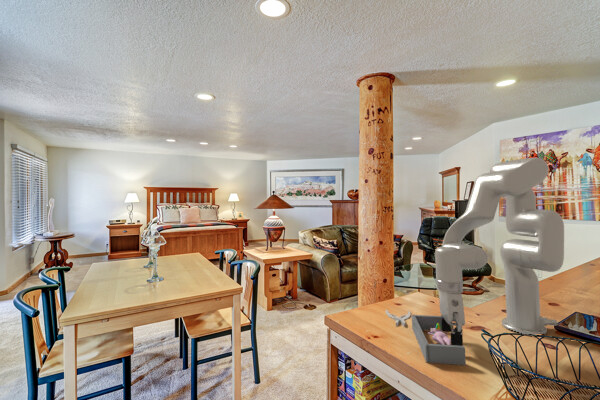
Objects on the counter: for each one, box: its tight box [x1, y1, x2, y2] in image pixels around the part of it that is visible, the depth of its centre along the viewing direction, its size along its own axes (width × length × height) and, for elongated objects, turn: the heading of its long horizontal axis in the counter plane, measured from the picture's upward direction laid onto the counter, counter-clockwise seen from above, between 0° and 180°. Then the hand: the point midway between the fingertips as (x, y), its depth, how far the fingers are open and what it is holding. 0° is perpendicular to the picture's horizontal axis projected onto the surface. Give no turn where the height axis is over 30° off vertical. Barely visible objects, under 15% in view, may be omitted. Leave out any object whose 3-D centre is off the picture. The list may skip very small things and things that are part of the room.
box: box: [411, 314, 467, 366], centre depth 91 cm, size 10×22×5 cm, turn 168°
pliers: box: [385, 309, 412, 328], centre depth 112 cm, size 10×2×15 cm
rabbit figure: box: [427, 323, 451, 345], centre depth 93 cm, size 6×6×15 cm
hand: (451, 338), depth 90 cm, fingers open, 9 cm apart
